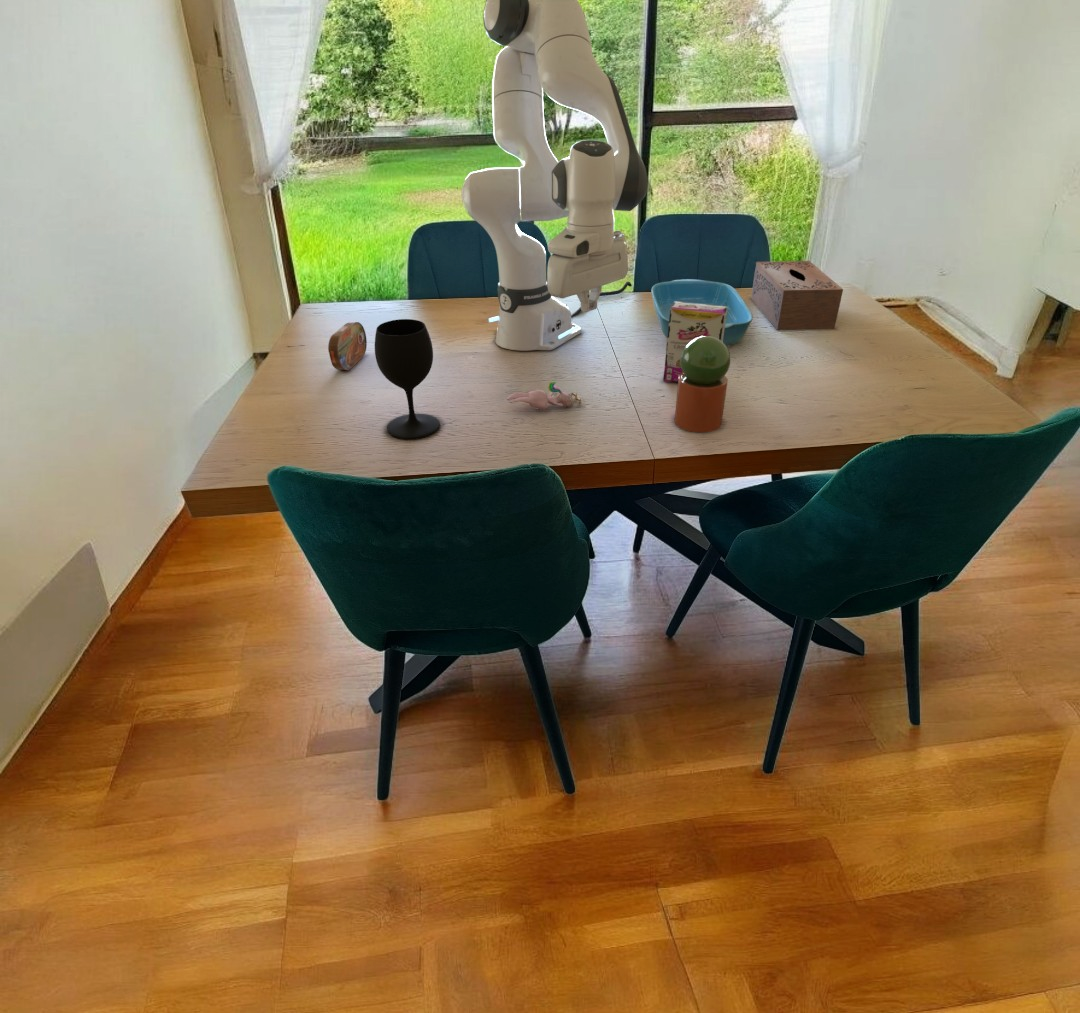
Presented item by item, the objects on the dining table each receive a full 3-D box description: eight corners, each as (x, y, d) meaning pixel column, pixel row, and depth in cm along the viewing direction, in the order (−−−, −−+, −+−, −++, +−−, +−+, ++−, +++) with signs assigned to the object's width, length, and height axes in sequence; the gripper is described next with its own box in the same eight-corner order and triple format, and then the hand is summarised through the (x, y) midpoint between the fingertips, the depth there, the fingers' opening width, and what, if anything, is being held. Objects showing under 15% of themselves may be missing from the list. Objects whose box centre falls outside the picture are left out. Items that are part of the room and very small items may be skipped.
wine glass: (388, 416, 143) (374, 318, 132) (441, 413, 144) (431, 316, 133) (384, 441, 135) (368, 338, 124) (439, 438, 135) (429, 336, 124)
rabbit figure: (572, 403, 150) (502, 402, 145) (576, 376, 147) (506, 374, 142) (582, 416, 145) (510, 415, 140) (587, 388, 142) (514, 387, 137)
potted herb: (691, 407, 145) (700, 325, 135) (730, 421, 139) (743, 336, 130) (665, 422, 139) (672, 338, 130) (704, 437, 134) (715, 350, 125)
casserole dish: (758, 354, 167) (762, 324, 163) (662, 355, 168) (664, 325, 164) (725, 304, 198) (729, 277, 194) (644, 305, 198) (646, 278, 195)
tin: (343, 376, 160) (336, 339, 156) (330, 375, 161) (323, 339, 156) (369, 351, 173) (364, 317, 168) (357, 350, 173) (351, 316, 169)
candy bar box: (662, 382, 155) (668, 307, 146) (666, 373, 159) (673, 300, 150) (715, 389, 152) (725, 312, 143) (718, 379, 156) (728, 305, 147)
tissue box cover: (751, 298, 202) (756, 261, 196) (802, 297, 202) (809, 260, 196) (777, 330, 180) (783, 290, 175) (834, 329, 180) (843, 289, 175)
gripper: (612, 226, 144) (609, 295, 151) (541, 244, 132) (542, 318, 139) (637, 230, 140) (633, 301, 148) (566, 250, 128) (566, 326, 135)
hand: (588, 310), depth 143 cm, fingers closed
